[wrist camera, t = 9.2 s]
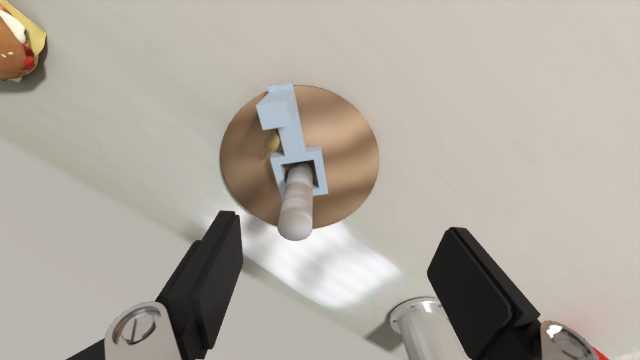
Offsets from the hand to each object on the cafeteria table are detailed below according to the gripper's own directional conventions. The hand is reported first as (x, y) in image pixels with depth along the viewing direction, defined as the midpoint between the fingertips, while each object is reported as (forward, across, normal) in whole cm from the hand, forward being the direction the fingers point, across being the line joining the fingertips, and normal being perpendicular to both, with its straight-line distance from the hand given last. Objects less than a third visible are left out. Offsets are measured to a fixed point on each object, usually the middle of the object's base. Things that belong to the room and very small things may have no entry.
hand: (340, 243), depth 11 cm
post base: (+20, +3, +6) cm, 21 cm away
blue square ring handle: (+18, +4, +2) cm, 19 cm away
